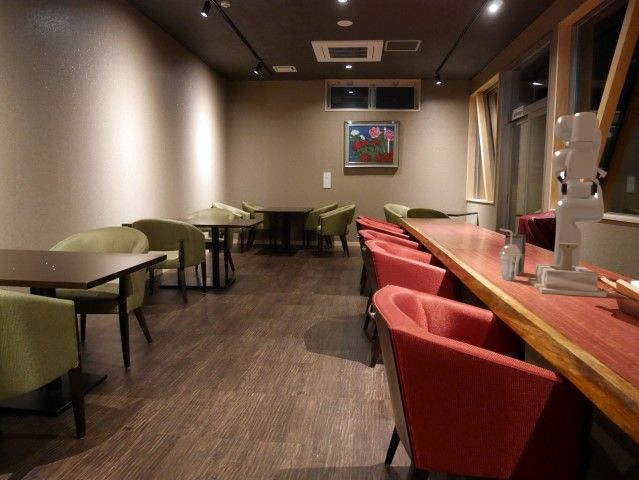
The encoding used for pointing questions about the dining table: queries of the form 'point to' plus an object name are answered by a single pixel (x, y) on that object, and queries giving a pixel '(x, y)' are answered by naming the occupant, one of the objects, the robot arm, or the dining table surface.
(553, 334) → the dining table surface
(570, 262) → the handle
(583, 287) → the socket holder
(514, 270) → the cup with straw
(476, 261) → the dining table surface
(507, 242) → the coffee box
